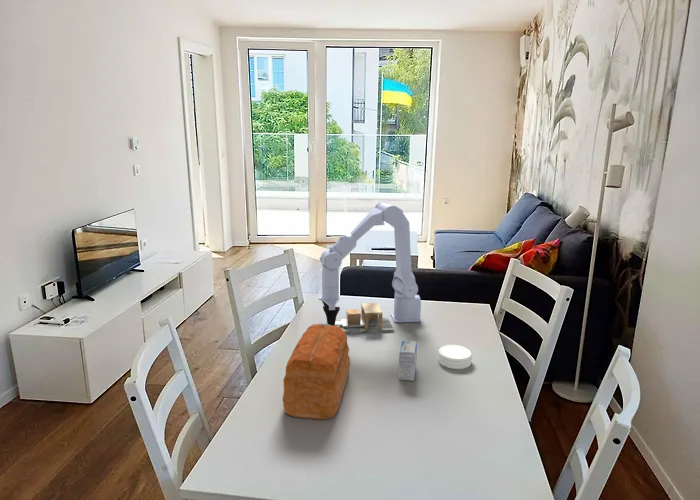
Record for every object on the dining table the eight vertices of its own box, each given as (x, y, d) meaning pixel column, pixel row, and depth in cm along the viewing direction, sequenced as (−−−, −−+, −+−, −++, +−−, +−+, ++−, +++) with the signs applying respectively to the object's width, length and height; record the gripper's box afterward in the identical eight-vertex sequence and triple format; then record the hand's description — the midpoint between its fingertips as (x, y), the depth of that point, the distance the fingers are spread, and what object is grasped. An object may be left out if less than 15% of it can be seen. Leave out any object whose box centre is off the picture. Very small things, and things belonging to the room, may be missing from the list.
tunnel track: (387, 319, 177) (388, 301, 175) (393, 332, 166) (394, 313, 165) (338, 321, 175) (338, 303, 173) (341, 334, 164) (342, 314, 162)
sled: (363, 320, 173) (363, 308, 172) (365, 326, 168) (366, 314, 166) (326, 321, 171) (326, 309, 170) (327, 328, 166) (327, 315, 165)
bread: (351, 368, 142) (351, 320, 138) (335, 422, 116) (336, 365, 112) (304, 364, 144) (304, 317, 140) (279, 416, 118) (277, 360, 114)
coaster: (457, 373, 140) (457, 362, 139) (430, 360, 147) (431, 350, 146) (478, 363, 146) (479, 352, 145) (451, 351, 153) (452, 341, 152)
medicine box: (414, 381, 135) (415, 353, 132) (398, 379, 136) (399, 351, 133) (416, 368, 142) (417, 341, 140) (400, 366, 143) (402, 339, 141)
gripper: (317, 278, 172) (317, 314, 175) (320, 292, 158) (320, 330, 161) (337, 278, 172) (337, 313, 176) (341, 291, 159) (341, 330, 162)
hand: (330, 321), depth 169 cm, fingers open, 6 cm apart
